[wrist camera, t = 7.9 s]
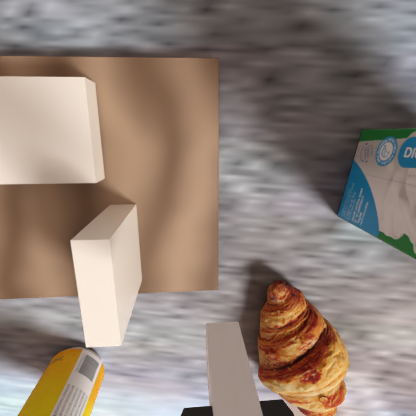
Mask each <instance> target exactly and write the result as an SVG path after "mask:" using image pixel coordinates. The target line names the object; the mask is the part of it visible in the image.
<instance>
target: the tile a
mask: <svg viewBox="0 0 416 416" xmlns="http://www.w3.org/2000/svg"><path fill="white" fill-rule="evenodd" d="M103 179H105V175H104V165H103V155H102V146H101V136H100V126H99V116H98V106H97V97H96V87H95V83H94V82H93V81H91V80H89V79H87V78H85V77H18V76H0V184H64V183H97V182H99V181H101V180H103Z"/></svg>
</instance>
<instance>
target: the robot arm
mask: <svg viewBox="0 0 416 416" xmlns="http://www.w3.org/2000/svg"><path fill="white" fill-rule="evenodd" d="M206 345H207V376H208V389H209V402H210V406H204V407H192V408H184V409H183V412H182V414H181V416H294V414H293V412H292V411H291V410H290V408H289V407H288V406H287V405H286V403H285V402H284V401H283V400H269V401H259V399H258V395H257V391H256V387H255V383H254V379H253V376H252V372H251V368H250V364H249V360H248V356H247V353H246V349H245V345H244V341H243V337H242V334H241V330H240V326H239V322H238V321H237V322H221V323H206Z"/></svg>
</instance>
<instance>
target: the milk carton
mask: <svg viewBox="0 0 416 416" xmlns="http://www.w3.org/2000/svg"><path fill="white" fill-rule="evenodd" d="M338 217H340V218H342V219H344V220H346V221H347V222H349V223H351V224H353V225H355V226H356V227H358V228H360V229H362V230H364V231H365V232H367V233H369V234H371V235H373V236H374V237H376V238H378V239H380V240H382V241H384V242H385V243H387V244H389V245H391V246H393V247H394V248H396V249H398V250H400V251H402V252H403V253H405V254H407V255H409V256H411V257H412V258H414V259H416V128H402V129H364V130H362V133H361V137H360V140H359V144H358V147H357V151H356V154H355V157H354V161H353V164H352V168H351V171H350V175H349V178H348V181H347V185H346V188H345V192H344V195H343V199H342V202H341V206H340V209H339V212H338Z"/></svg>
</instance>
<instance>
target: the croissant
mask: <svg viewBox="0 0 416 416" xmlns="http://www.w3.org/2000/svg"><path fill="white" fill-rule="evenodd" d="M259 331H260V333H259V336H258V351H259V362H260V366H259V369H258V377H259V379H260V381H261V382H262V383H263V385H264V386H266V387H267V388H269V389H270V390H271V391H273V392H276V393H278V394H279V395H280V396H281V397H282V398H284V399H285V400H286V401H288V402H289V403H291V404H292V405H294V406H297V407H298V409H299V410H300V411H301V412H302V413H303V414H304V415H306V416H334V415H335V413H336V411H337V406H338V405H340V404H341V403H342V402H343V401H344V396H345V394H346V388H345V387H346V386H345V383H344V381H343V378H344V377H345V375H346V372H347V369H348V367H349V366H350V364H349V359H348V353H347V350H346V347H345V345H344V343H343V341H342V339H341V337H340V335H339V334H338V332H337V331H336V330H335V329H334V327H333V326H332V325H331V324H330V323H329V322H328V321H327V320H326V319H325V318H324V317H323V316H322V315H321V314H320V313H319V312H318V310H317V309H316V308H315V307H314V306H313V305H312V304H310V303H309V302H308V301H307V300H306V299H305V297H304V295H303V293H302V292H301V291H300V290H298V289H296V288H295V287H293V286H291V285H289V284H288V283H286V282H285V281H282V280H277V281H275V282H273V284H271V285H269V288H268V289H267V302H266V303H265V304H264V306H263V308H262V310H261V312H260V329H259Z"/></svg>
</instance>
